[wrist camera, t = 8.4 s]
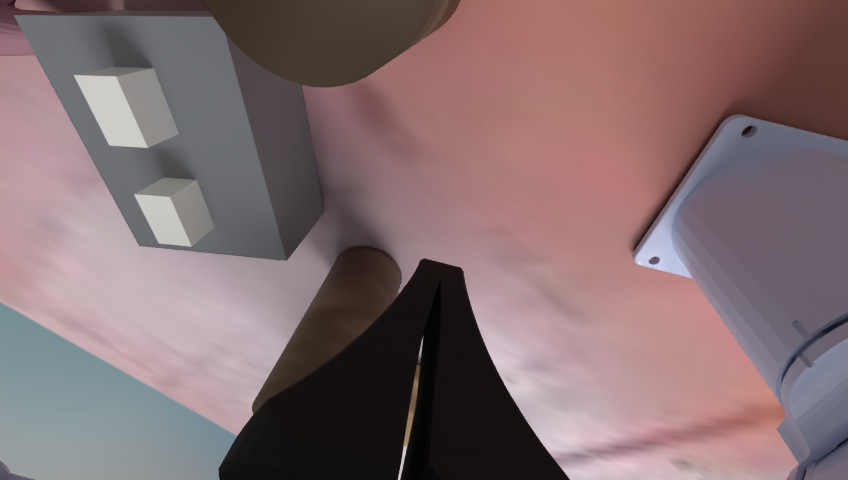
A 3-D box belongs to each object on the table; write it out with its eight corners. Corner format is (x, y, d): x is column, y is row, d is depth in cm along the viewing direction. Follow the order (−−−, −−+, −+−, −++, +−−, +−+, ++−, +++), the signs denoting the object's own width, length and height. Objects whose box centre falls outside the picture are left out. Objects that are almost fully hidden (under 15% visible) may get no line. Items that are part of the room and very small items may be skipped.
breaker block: (290, 10, 16) (186, 19, 10) (325, 209, 22) (269, 282, 16) (129, 9, 17) (-41, 17, 12) (203, 199, 23) (112, 265, 17)
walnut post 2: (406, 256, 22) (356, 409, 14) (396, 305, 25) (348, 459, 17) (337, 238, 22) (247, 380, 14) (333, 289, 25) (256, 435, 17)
